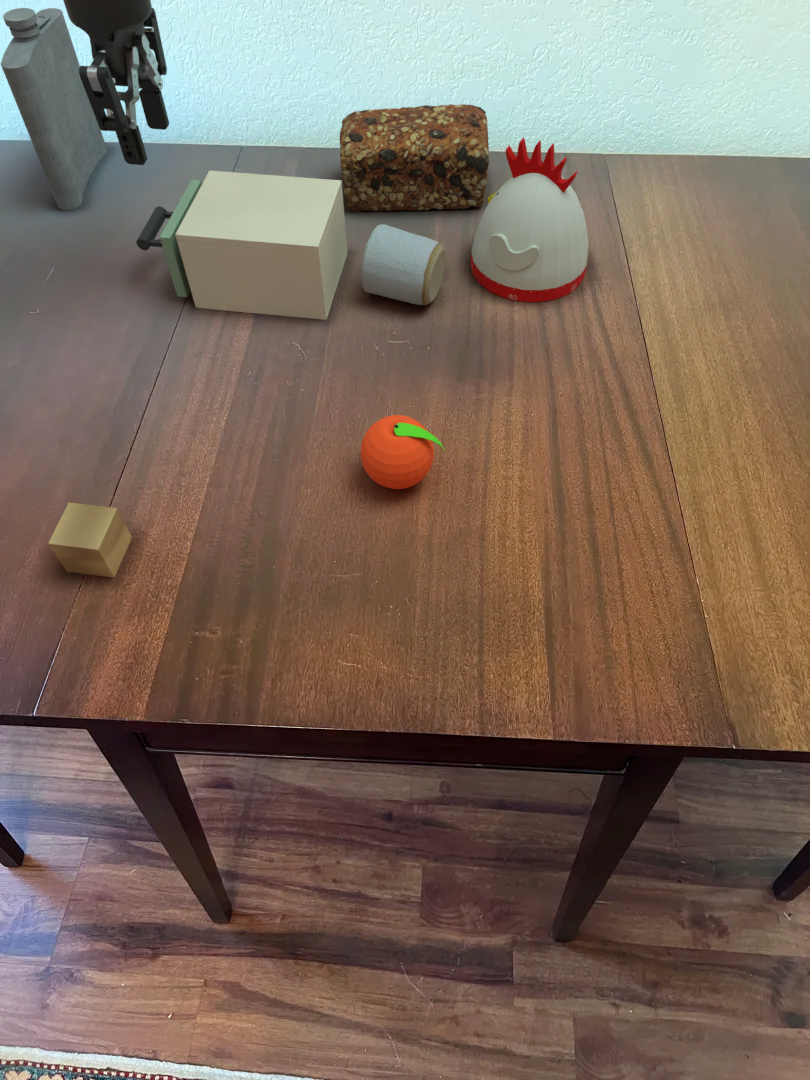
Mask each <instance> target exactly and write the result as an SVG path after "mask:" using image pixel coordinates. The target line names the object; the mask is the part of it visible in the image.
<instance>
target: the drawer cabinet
mask: <svg viewBox="0 0 810 1080" xmlns="http://www.w3.org/2000/svg"><path fill="white" fill-rule="evenodd" d="M343 193H344V191H343V181H342V179H341V180H340V179H327V178H313V177H302V176H301V177H300V176H290V175H289V176H288V175H274V174H260V173H247V172H235V171H222V170H209V171H208V173H207V174H206V176H205V178H204V180H203V182H202V185H201V187H200V189H199V191H198V193H197V195H196V197H195V199H194V200H193V202H192V204H191V206H190V208H189V210H188V212H187V213H186V215H185V217H184V219H183V221H182V223H181V225H180V227H179V228H178V230H177V232H176V234H175V236H176V239H177V243H178V246H179V250H180V253H181V257H182V260H183V264H184V268H185V271H186V275H187V278H188V282H189V285H190V289H191V290H190V292H191V296H192V300H193V304H194V307H195V308H196V309H202V310H203V309H204V310H213V311H214V310H216V311H225V312H237V313H248V314H257V315H268V316H277V317H278V316H280V317H290V318H299V319H310V320H311V319H312V320H321V321H327V320H328V316H329V313H330V311H331V307H332V304H333V301H334V298H335V295H336V291H337V288H338V285H339V283H340V279H341V276H342V272H343V269H344V266H345V263H346V259H347V257H348V243H347V232H346V231H347V230H346V218H345V205H344V194H343Z"/></svg>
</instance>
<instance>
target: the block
mask: <svg viewBox="0 0 810 1080" xmlns="http://www.w3.org/2000/svg"><path fill="white" fill-rule="evenodd" d="M132 538H133V536H132V535H131V533H130V531H129V529H128V527H127V525H126V523H125V521H124V519H123V517H122V515H121V513H120V511H119V510H118V508H117V507H112V506H102V505H94V504H85V503H77V502H68V503H67V505H66V506H65V509H64V510H63V513H62V515H61V517H60V519H59V521H58V523H57V524H56V527H55V529H54V531H53V532H52V535H51V537H50V539H49V541H48V543H47V544H48V546H49V548H50V549H51V550H52V552H53V553H54V555H55V556H56V557H57V559H58V561H59V562H60V564H61V565H62V567H63V568H64V569H65V571H66V573H72V574H80V575H87V576H88V575H89V576H95V577H104V578H112V579H114V578H116V576H117V574H118V571H119V568H121V567H120V566H121V564H122V562H123V559H124V558H125V555H126V552H127V550H128V548H129V546H130V543H131V541H132Z"/></svg>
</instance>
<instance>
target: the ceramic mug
mask: <svg viewBox="0 0 810 1080" xmlns="http://www.w3.org/2000/svg"><path fill="white" fill-rule="evenodd" d="M446 265H447V251H446V249H445V246H444V245H443V244H442V243H440V242H438V241H436V240H434V239H432V238H430V237H427V236H424V235H420V234H416V233H413V232H410V231H406V230H404V229H400V228H398V227H395V226H391V225H389V224H384V223H380V224H377V225H376V226H375V228H374V229H373V230H372V232H371V233H370V235H369V238H368V240H367V242H366V245H365V248H364V253H363V256H362V261H361V286H362V288H363V289H362V290H363V291H364V292H365V293H368V294H370V295H371V294H372V295H376V296H381V297H384V298H387V299H392V300H397V301H401V302H404V303H405V302H406V303H409V304H412V305H416V306H417V305H418V306H427V305H430V304H432V303H433V302H434V301H435V299H436V297H437V296H438V294H439V291H440V289H441V286H442V282H443V279H444V276H445V273H446V272H445V271H446Z"/></svg>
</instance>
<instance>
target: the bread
mask: <svg viewBox="0 0 810 1080" xmlns="http://www.w3.org/2000/svg"><path fill="white" fill-rule="evenodd" d="M486 113H487V112H486V110H484V108H482V107H480V106H477V105H473V104H464V103H462V104H452V103H451V104H441V105H428V104H425V105H418V106H415V107H413V106H407V107H404V106H402V107H400V108H398V107H396V108H391V107H389V108H380V109H376V108H373V109H364V110H357V111H356V110H355V111H353V112H351V113H349V114H347V115H346V116H345V117H344V118H343V119H342V120H341V128H340V132H339V149H340V150H339V160H340V161H339V162H340V171H341V181H342V189H343V193H344V194H343V195H344V200H345V204H346V206H347V210H348V211H351V213H360V212H361V211H369V212H382V211H386V212H398V211H423V210H424V211H430V210H431V209H437V210H458V209H468V208H470V207H475V208H478V207H480V206H482V205H484V202H485V198H486V197H485V196H486V190H487V187H488V186H487V185H488V179H489V178H488V177H489V167H490V166H489V165H490V147H489V128H488V117H487V115H486Z"/></svg>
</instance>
